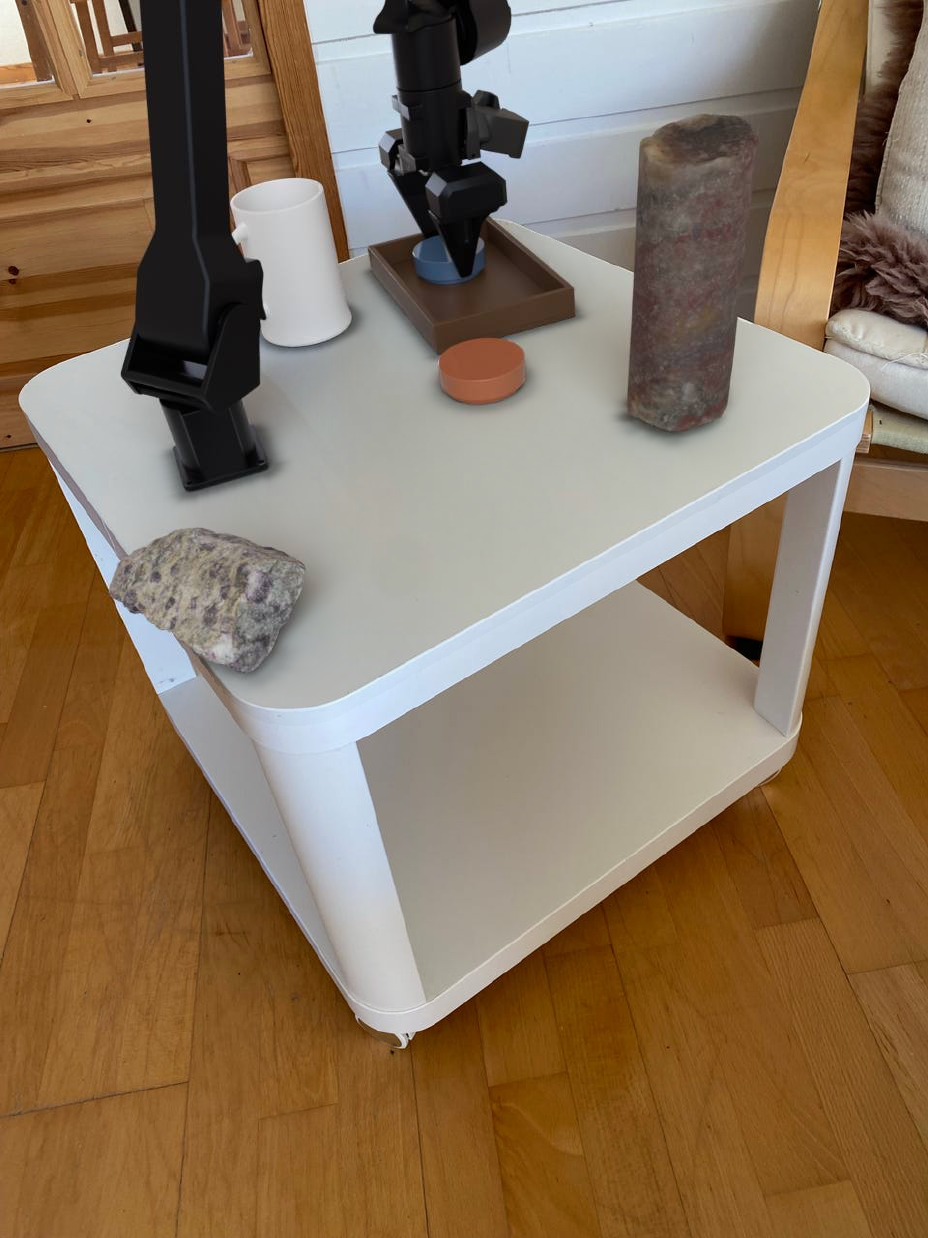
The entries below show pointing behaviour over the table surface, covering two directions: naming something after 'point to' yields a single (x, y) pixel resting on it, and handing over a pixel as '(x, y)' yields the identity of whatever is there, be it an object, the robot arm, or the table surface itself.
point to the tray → (475, 291)
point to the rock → (212, 593)
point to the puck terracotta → (482, 370)
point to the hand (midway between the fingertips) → (449, 259)
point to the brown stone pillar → (689, 267)
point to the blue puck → (443, 262)
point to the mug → (293, 260)
